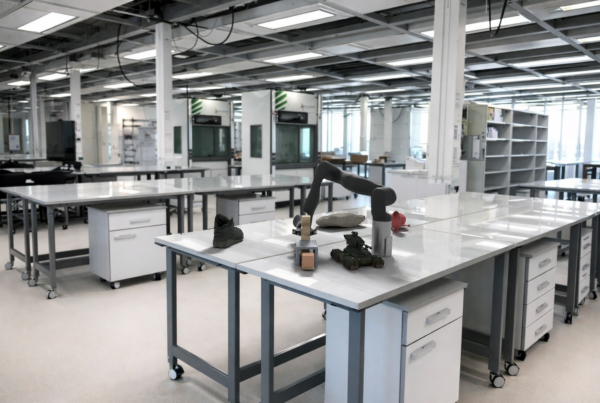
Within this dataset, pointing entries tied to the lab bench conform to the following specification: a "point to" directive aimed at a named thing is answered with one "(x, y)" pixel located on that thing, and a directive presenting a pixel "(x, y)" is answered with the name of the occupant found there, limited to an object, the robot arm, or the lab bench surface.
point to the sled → (305, 235)
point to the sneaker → (225, 232)
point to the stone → (340, 220)
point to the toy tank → (356, 253)
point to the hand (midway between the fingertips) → (305, 235)
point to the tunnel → (307, 245)
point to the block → (307, 259)
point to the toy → (398, 220)
